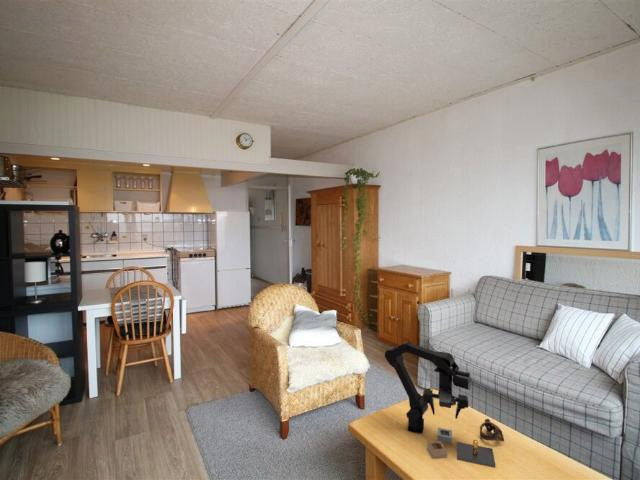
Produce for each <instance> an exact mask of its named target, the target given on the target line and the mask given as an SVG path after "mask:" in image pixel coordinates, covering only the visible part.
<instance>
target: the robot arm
mask: <svg viewBox="0 0 640 480" xmlns="http://www.w3.org/2000/svg"><path fill="white" fill-rule="evenodd" d="M405 353H408V354H410V355H413V356H416V357H418V358H421V359H424V360H427V361H429V362H431V363H432V364H433V365H434V366H435V368H434V369H433V372H436V373H438V394H437V393H433V391H434V390H433V389H432V390H431V389H423V392H422V395H421V394H420V393H419V391H418V390H417V387H416V386H415V384H414V382H413V380H412V377H411V376H410V374H409V371H408V370H407V368H406V366H405V363H404V356H403V354H405ZM384 358H385V360H386V361H387V363H388V364H389V365H390V366H391V367H392V368H393V369H394V370H395V372H396V374H397V376H398V379H399V380H400V382H401V385H402V387H403V388H404V391H405V393H406V395H407V396H408V403H409V408H410V409H409V410H408V411H407V412H406V418H407V419H408V421H407V422H408V425H407V431H408V432H412V433H418V434H423V431H424V429H425V418H424V415H425V413H426V412H428V410H429V406H430V410H431V412H432V414H433V415H432V416H435V401H434V399H436V400H438V405H439V407H441V408H447V409H450V408H452V406H453V407H454V406H455V408H456V409H455V417H454V418H455V419H456V420H457V419H458V418H459V417H458V416H459V413H460V412H461V410H464V409H468V408H469V396H467V395H464V394H457V396H455V395H453V385H454V387H457V388H461V389H465V390H468V391H469V390H471V387H472V384H473V383H472V380H473V379H472V376H471V373H470V372H468V371H467V372H465V371H462V370H460V367H459V365H458V364H457V363H456V361H455V357H454V356H453V355H452V354H451V353H449V352H445V351H434V350H432V349H429V348H426V347H424V346H420V345H418V344H415V343H412V342H411V341H405V342H403V343H401V344H399V345H397V346H396V345H395V346H391V347H390V348H388V349H387V350H386V351H385V352H384Z"/></svg>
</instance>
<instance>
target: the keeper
mask: <svg viewBox="0 0 640 480" xmlns="http://www.w3.org/2000/svg"><path fill="white" fill-rule="evenodd" d="M478 444H479V441H478V440H477V439H473V440H472V444H471V443H465V442H461V441H456V454H457V455H456V456H457V460H458V461H464V462H467V463H472V464H477V465H481V466H482V465H483V466H488V467H492V468H496V462H495V461H496V460H495V456H494V455H495V454H494V451H493V450H494V449H493V448H491V447H486V446H480V445H478Z"/></svg>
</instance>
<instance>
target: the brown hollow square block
mask: <svg viewBox="0 0 640 480" xmlns="http://www.w3.org/2000/svg"><path fill="white" fill-rule="evenodd" d="M426 442H427V443H426V444H427V445H426V448H427V452H428V453H429V454H430V456H431V458H432V459H437V458H438V459H441V458H443V459H444V458H448V449H447V448H446V447H445V445H444V443H442V442H441V441H438V440H436V441H426Z"/></svg>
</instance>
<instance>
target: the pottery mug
mask: <svg viewBox="0 0 640 480" xmlns="http://www.w3.org/2000/svg"><path fill="white" fill-rule="evenodd" d="M483 427H485V428H486V429H485V430H486V432H490V434H488V433H485V432H483ZM492 431H493V433H491V432H492ZM479 437H480V439H483V440H485V441H488V442H489V441H498V438H497V437H501V439H502V442H505V438H504V434H503V431H502V429H501V428H500V427H499V426H498V425H497V424H495V423H494V422H492V421H491V420H490V419H489V418H485V419H484V422H483V423H481V424H480V426H479Z"/></svg>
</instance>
